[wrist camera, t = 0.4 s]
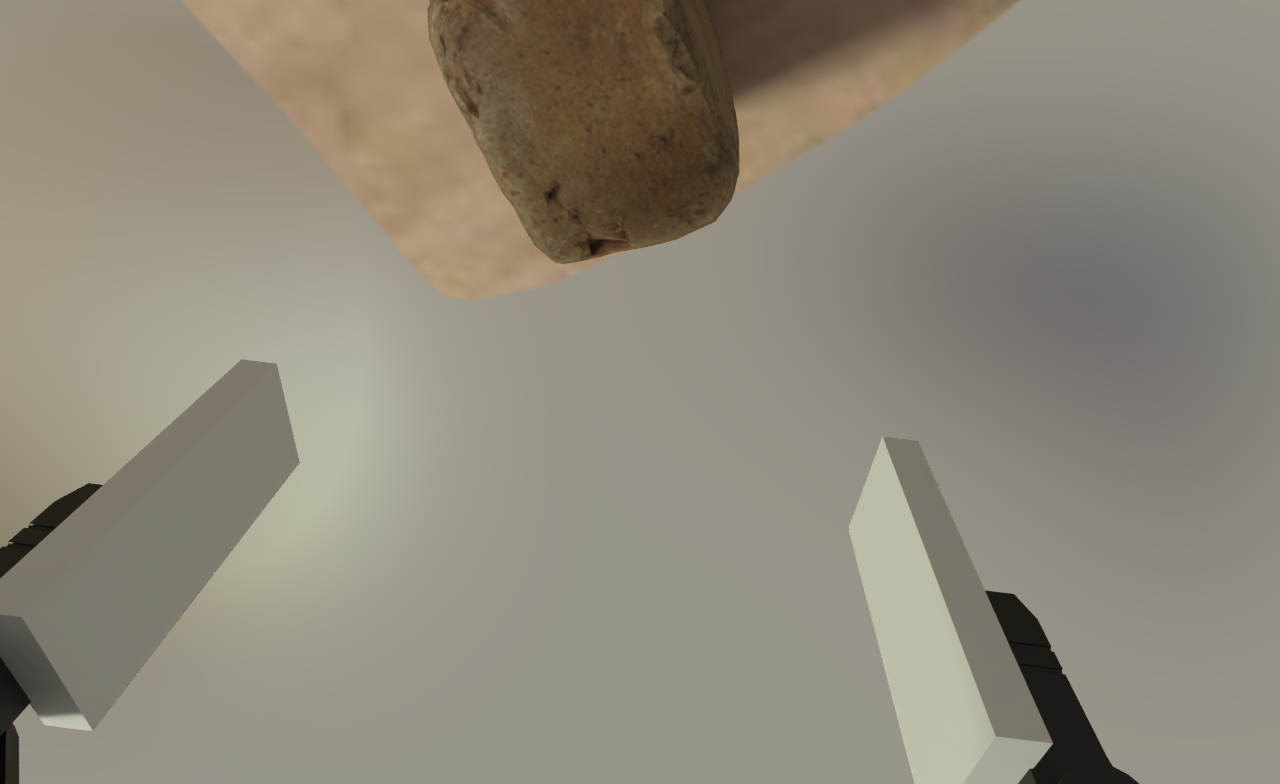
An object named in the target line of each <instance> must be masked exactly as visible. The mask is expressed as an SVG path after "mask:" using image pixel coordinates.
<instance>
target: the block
mask: <svg viewBox="0 0 1280 784" xmlns="http://www.w3.org/2000/svg"><path fill="white" fill-rule="evenodd" d="M428 28H429V39H430V42H431V45H432V47H433V50H434V53H435V55H436V58H437V61H438V64H439V66H440V69H441V72H442V74H443V77H444V80H445V82H446V84H447V86H448V88H449V90H450V92H451V94H452V96H453V98H454V100H455V101H456V103H457V105H458V107H459V109H460V111H461V113H462V115H463V116H464V118H465V120H466V121H467V123H468V125H469V126H470V128H471V130H472V132H473V135H474V138H475V140H476V143H477V145H478V147H479V148H480V150H481V151H482V153H483V154H484V157H485V159H486V161H487V163H488V165H489V168H490V170H491V172H492V174H493V176H494V178H495V180H496V182H497V184H498V185H499V187H500V189H501V191H502V192H503V194H504V195H505V197H506V198H507V199H508V200H509V202H510V203H511V204H512V206H513V207H514V209H515V211H516V213H517V215H518V217H519V219H520V221H521V223H522V225H523V227H524V229H525V230H526V232H527V233H528V235H529V237H530V238H531V240H532V241H533V243H534V245H535V246H536V247H537V248H538V249H540V250H541V251H542V252H543V253H544V254H545V255H546V256H548V257H549V258H550V259H551V260H552V261H554V262H555V263H560V264H567V263H574V262H579V261H584V260H588V259H593V258H597V257H601V256H604V255H607V254H611V253H616V252H621V251H627V250H632V249H638V248H644V247H648V246H652V245H656V244H661V243H665V242H668V241H672V240H676V239H678V238H680V237H683V236H685V235H687V234H689V233H691V232H693V231H696V230H698V229H700V228H702V227H704V226H707V225H709V224H711V223H713V222H715V221H716V220H717V218H718V217H719V216H720V215H721V213H722V212H723V211H724V210H725V208H726V207H727V205H728V204H729V202H730V201H731V199H732V196H733V194H734V191H735V186H736V182H737V178H738V174H739V136H738V127H737V119H736V113H735V108H734V104H733V98H732V94H731V90H730V86H729V82H728V78H727V74H726V70H725V66H724V62H723V58H722V55H721V50H720V47H719V45H718V41H717V38H716V35H715V32H714V29H713V26H712V23H711V19H710V16H709V13H708V10H707V7H706V4H705V1H704V0H430V6H429V8H428Z"/></svg>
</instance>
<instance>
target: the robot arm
mask: <svg viewBox="0 0 1280 784" xmlns="http://www.w3.org/2000/svg"><path fill="white" fill-rule="evenodd" d="M298 463H300V462H299V458H298V454H297V449H296V445H295V441H294V437H293V432H292V428H291V424H290V419H289V415H288V411H287V406H286V403H285V398H284V393H283V389H282V385H281V380H280V376H279V372H278V367H277V364H274V363H265V362H258V361H249V360H240V361H239V362H238V363H237V364H236V365H235V366H234V367H233V368H232V369H231V370H230V371H228V372H227V373H226V374H225V375H224V376H223V377H222V378H221V379H220V380H218V381H217V382H216V383H215V384H214V385H213V386H212V387H211V388H210V389H209V390H207V391H206V392H205V393H204V394H203V395H202V396H201V397H200V398H199V399H198V400H196V401H195V402H194V403H193V404H192V405H191V406H190V407H189V408H188V409H187V410H185V412H183V413H182V414H181V415H180V416H179V417H178V418H177V419H176V420H174V421H173V422H172V423H171V424H170V425H169V426H168V427H167V428H166V429H165V430H163V431H162V432H161V433H160V434H159V435H158V436H157V437H156V438H155V439H153V440H152V441H151V442H150V443H149V444H148V445H147V446H146V447H145V448H144V449H143V450H141V451H140V452H139V453H138V454H137V455H136V456H135V457H134V458H133V459H131V460H130V461H129V462H128V463H127V464H126V465H125V466H124V467H123V468H122V469H120V470H119V472H117V473H116V474H115V475H114V476H113V477H112V478H111V479H109V480H108V481H107V482H106V483H105V484H104V485H98V484H90V483H89V484H86V485H85V486H83V487H81V488H79V489H77V490H75V491H73V492H71V493H70V494H68V495H66V496H64V497H62V498H60V499H58V500H57V501H55V502H54V503H52V504H51V505H50V506H49V507H48V508H47V509H45V510H44V511H43V512H42V513H41V514H40V515H39V516H37V517H36V518H35V519H34V520H33V521H32V522H30V523H29V527H28V528H24V529H22V530H21V531H20V532H19V533H18V534H17V535H15V536H14V537H13V538H12V539H11V540H10V541H8V546H7V547H2V548H0V784H19V736H18V734H17V731H16V729H15V726H14V725H13V721H14V720H15V719H16V718H17V717H18V716H19V715H20V713H21V712H22V711H23V710H24V709H25V708H26V707H27V706H28V704H29V703H30V705H31V706H32V708H33V709H34V710H35V712H36V713H37V715H38V716H39V718H40V719H41V721H42V722H43V724H44V725H48V726H56V727H65V728H72V729H80V730H88V731H93V730H94V729H95V728H96V726H97V725H98V724H99V722H100V721H101V720H102V719H103V717H104V716H105V715H106V713H107V712H108V711H109V709H110V708H111V707H112V706H113V704H114V703H115V702H116V700H117V699H118V698H119V697H120V695H121V694H122V692H123V691H124V690H125V688H126V687H127V686H128V685H129V684H130V682H131V681H132V680H133V678H134V677H135V676H136V674H137V673H138V672H139V671H140V669H141V668H142V667H143V665H144V664H145V663H146V661H147V660H148V659H149V658H150V656H151V655H152V654H153V652H154V651H155V650H156V648H157V647H158V646H159V644H160V643H161V642H162V640H163V639H164V638H165V637H166V635H167V634H168V633H169V631H170V630H171V629H172V628H173V626H174V625H175V624H176V622H177V621H178V620H179V619H180V617H181V616H182V614H183V613H184V612H185V611H186V609H187V608H188V607H189V606H190V604H191V603H192V602H193V600H194V599H195V598H196V596H197V595H198V594H199V593H200V591H201V590H202V589H203V587H204V586H205V585H206V583H207V582H208V581H209V580H210V578H211V577H212V576H213V574H214V573H215V572H216V570H217V569H218V568H219V567H220V565H221V564H222V563H223V561H224V560H225V559H226V557H227V556H228V555H229V553H230V552H231V551H232V550H233V548H234V547H235V546H236V544H237V543H238V542H239V540H240V539H241V538H242V537H243V535H244V534H245V533H246V531H247V530H248V529H249V528H250V526H251V525H252V524H253V522H254V521H255V520H256V518H257V517H258V516H259V514H260V513H261V512H262V511H263V509H264V508H265V507H266V505H267V504H268V503H269V502H270V500H271V499H272V498H273V496H274V495H275V494H276V492H277V491H278V490H279V488H280V487H281V486H282V485H283V483H284V482H285V481H286V479H287V478H288V477H289V476H290V474H291V473H292V472H293V470H294V469H295V468H296V467H297V465H298ZM849 533H850V537H851V540H852V544H853V548H854V552H855V556H856V560H857V563H858V568H859V571H860V575H861V579H862V582H863V587H864V590H865V594H866V598H867V602H868V606H869V610H870V614H871V618H872V622H873V625H874V629H875V633H876V637H877V641H878V645H879V648H880V652H881V656H882V660H883V664H884V668H885V672H886V676H887V679H888V683H889V687H890V691H891V695H892V699H893V702H894V706H895V710H896V714H897V718H898V722H899V726H900V730H901V733H902V737H903V741H904V745H905V749H906V753H907V756H908V760H909V764H910V768H911V771H912V776H913V780H914V783H915V784H1139V783H1138V782H1136V781H1135V780H1134V779H1133V778H1132V777H1130V776H1129V775H1128V774H1126V773H1124V772H1122V771H1120V770H1118V769H1116V768H1114V767H1113V766H1112V764H1111V763H1110V761H1109V759H1108V758H1107V756H1106V754H1105V752H1104V750H1103V748H1102V746H1101V744H1100V742H1099V740H1098V738H1097V736H1096V734H1095V732H1094V730H1093V728H1092V726H1091V725H1090V722H1089V721H1088V719H1087V717H1086V715H1085V713H1084V711H1083V709H1082V707H1081V705H1080V703H1079V701H1078V699H1077V697H1076V695H1075V693H1074V691H1073V689H1072V687H1071V685H1070V683H1069V681H1068V679H1067V677H1066V675H1064V674H1062V667H1061V665H1060V663H1059V661H1058V659H1057V657H1056V655H1055V653H1054V652H1051V645H1050V643H1049V641H1048V640H1047V637H1046V635H1045V633H1044V631H1043V629H1042V627H1041V625H1040V623H1039V622H1038V620H1037V619H1036V617H1035V616H1034V615H1033V614H1032V613H1031V612H1030V611H1029V610H1028V609H1027V608H1026V607H1025V605H1024V604H1023V603H1022V602H1021V601H1020V600H1019V599H1018V598H1017V597H1016V596H1015V595H1014V594H1009V593H1001V592H992V591H985V590H984V588H983V586H982V583H981V581H980V579H979V576H978V575H977V572H976V570H975V567H974V565H973V563H972V561H971V558H970V556H969V554H968V552H967V549H966V547H965V545H964V543H963V540H962V538H961V536H960V534H959V531H958V529H957V527H956V525H955V522H954V520H953V518H952V516H951V514H950V511H949V509H948V507H947V505H946V502H945V500H944V498H943V496H942V493H941V491H940V489H939V487H938V484H937V482H936V480H935V478H934V475H933V473H932V471H931V469H930V466H929V465H928V462H927V460H926V457H925V455H924V453H923V451H922V448H921V446H920V444H919V442H918V441H914V440H906V439H897V438H888V437H882V440H881V442H880V445H879V448H878V451H877V454H876V456H875V459H874V461H873V464H872V467H871V470H870V472H869V475H868V478H867V481H866V483H865V486H864V489H863V491H862V494H861V497H860V500H859V502H858V505H857V508H856V510H855V513H854V516H853V518H852V521H851V524H850V526H849Z"/></svg>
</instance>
